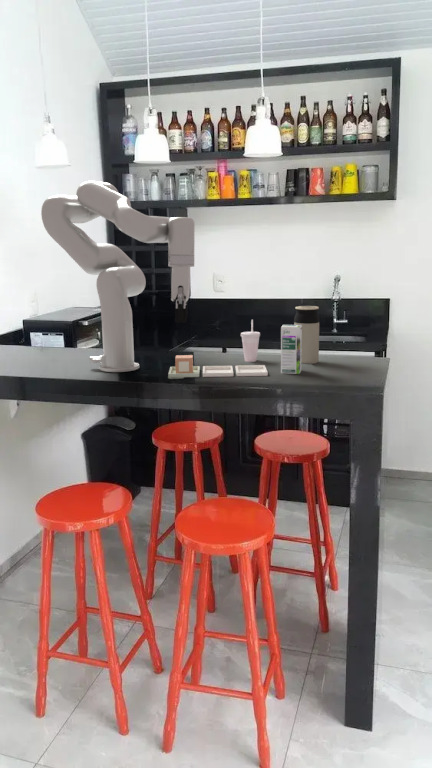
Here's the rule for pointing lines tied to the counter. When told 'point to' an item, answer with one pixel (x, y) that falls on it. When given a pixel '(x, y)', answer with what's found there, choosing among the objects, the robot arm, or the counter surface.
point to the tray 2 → (217, 371)
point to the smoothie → (250, 344)
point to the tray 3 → (251, 370)
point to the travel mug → (308, 332)
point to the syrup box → (291, 349)
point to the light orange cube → (184, 363)
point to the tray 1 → (174, 375)
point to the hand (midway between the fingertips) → (181, 320)
